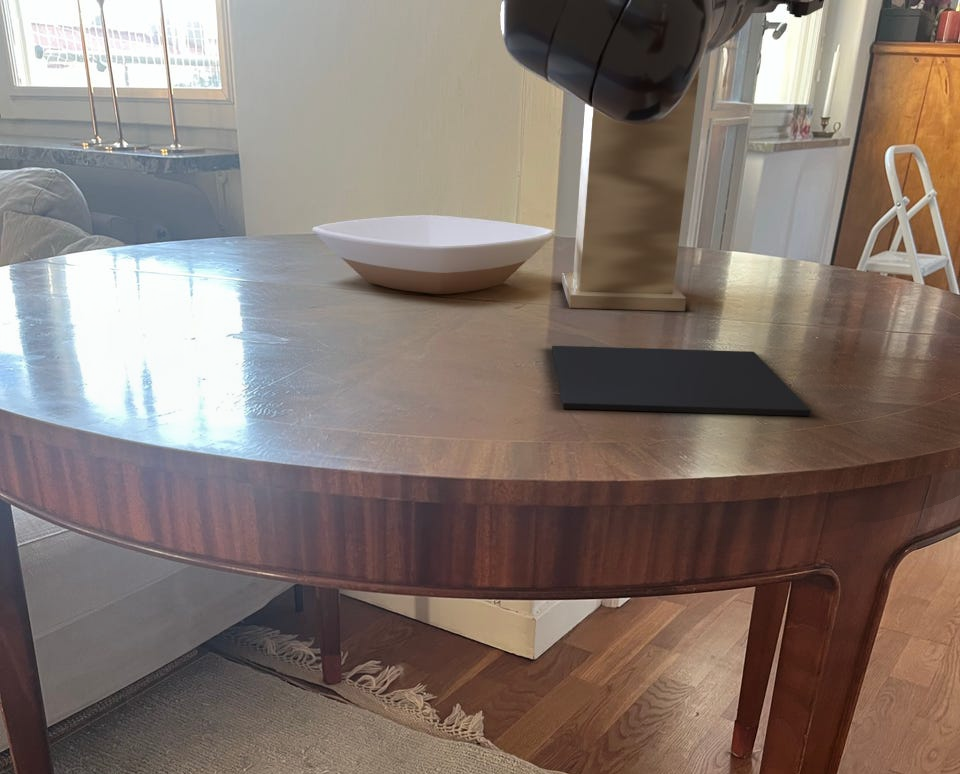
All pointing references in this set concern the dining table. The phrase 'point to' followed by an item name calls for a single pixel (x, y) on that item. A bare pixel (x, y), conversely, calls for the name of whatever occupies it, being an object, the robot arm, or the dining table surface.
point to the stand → (631, 211)
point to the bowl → (433, 251)
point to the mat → (671, 381)
